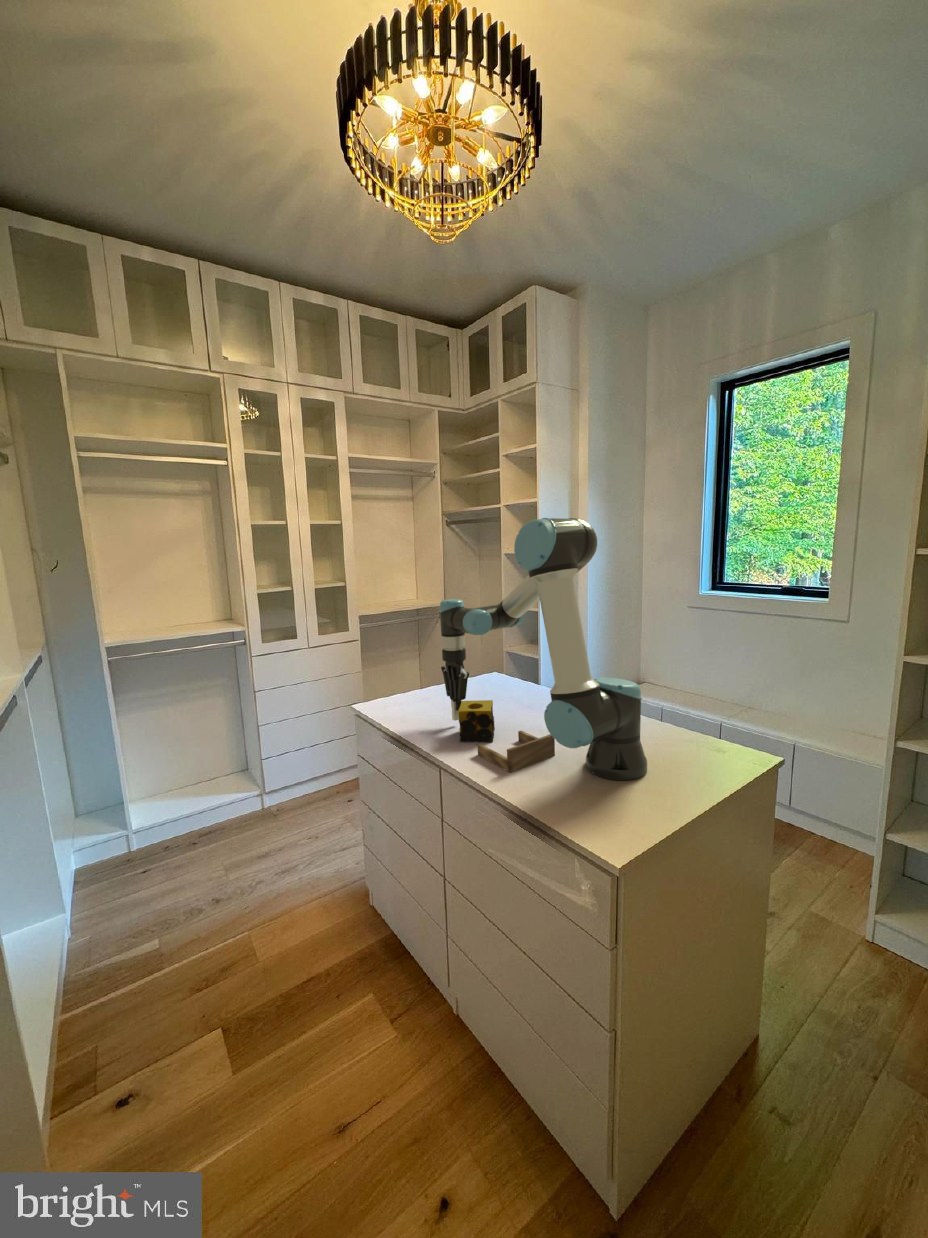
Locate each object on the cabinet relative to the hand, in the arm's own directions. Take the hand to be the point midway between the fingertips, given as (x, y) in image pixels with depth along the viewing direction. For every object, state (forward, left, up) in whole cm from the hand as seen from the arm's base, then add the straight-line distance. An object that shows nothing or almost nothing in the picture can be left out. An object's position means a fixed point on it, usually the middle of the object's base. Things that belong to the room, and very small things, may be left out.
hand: (457, 719), depth 161 cm
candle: (-11, 0, -3) cm, 12 cm away
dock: (-29, 0, -2) cm, 29 cm away
